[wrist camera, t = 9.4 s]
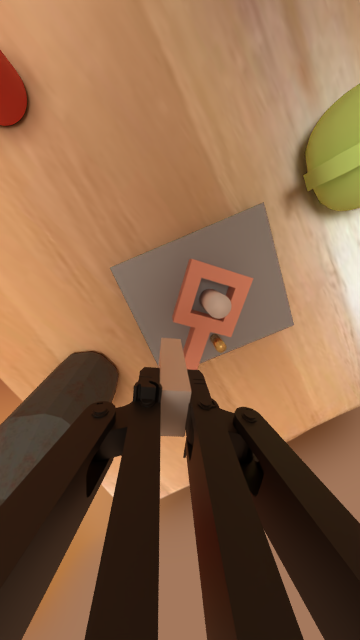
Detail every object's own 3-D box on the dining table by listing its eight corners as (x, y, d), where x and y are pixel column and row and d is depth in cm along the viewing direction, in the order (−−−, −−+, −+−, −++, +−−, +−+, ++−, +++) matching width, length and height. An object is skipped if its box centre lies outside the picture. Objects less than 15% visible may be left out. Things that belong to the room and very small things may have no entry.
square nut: (189, 259, 31) (192, 258, 28) (245, 276, 32) (253, 278, 29) (160, 355, 35) (160, 364, 32) (211, 367, 36) (215, 376, 33)
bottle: (113, 404, 38) (-32, 845, 9) (57, 397, 37) (-318, 889, 8) (122, 354, 36) (-38, 747, 7) (62, 344, 34) (-460, 785, 5)
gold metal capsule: (217, 332, 34) (224, 341, 30) (220, 340, 35) (228, 350, 31) (208, 335, 34) (214, 345, 31) (211, 344, 35) (218, 354, 31)
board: (259, 205, 31) (288, 188, 24) (288, 322, 37) (320, 337, 29) (112, 267, 32) (97, 269, 24) (164, 373, 37) (164, 400, 30)
